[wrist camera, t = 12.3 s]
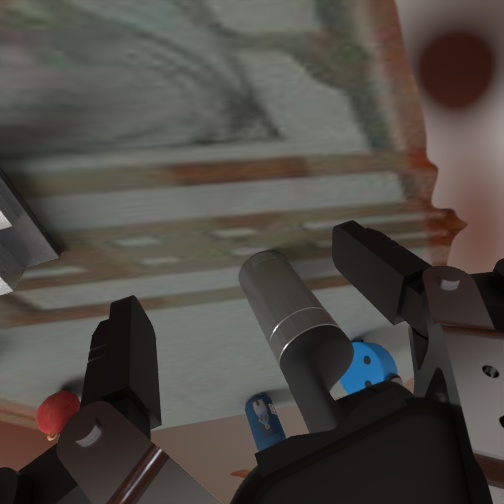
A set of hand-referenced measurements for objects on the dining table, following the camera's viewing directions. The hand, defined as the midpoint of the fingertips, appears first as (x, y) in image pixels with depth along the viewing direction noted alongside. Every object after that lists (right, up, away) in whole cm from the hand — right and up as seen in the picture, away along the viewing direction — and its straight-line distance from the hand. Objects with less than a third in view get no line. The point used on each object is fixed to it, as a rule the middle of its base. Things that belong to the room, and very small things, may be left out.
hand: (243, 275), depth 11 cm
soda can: (+1, -37, +60) cm, 71 cm away
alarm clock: (+26, -24, +62) cm, 72 cm away
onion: (-32, -23, +37) cm, 55 cm away
